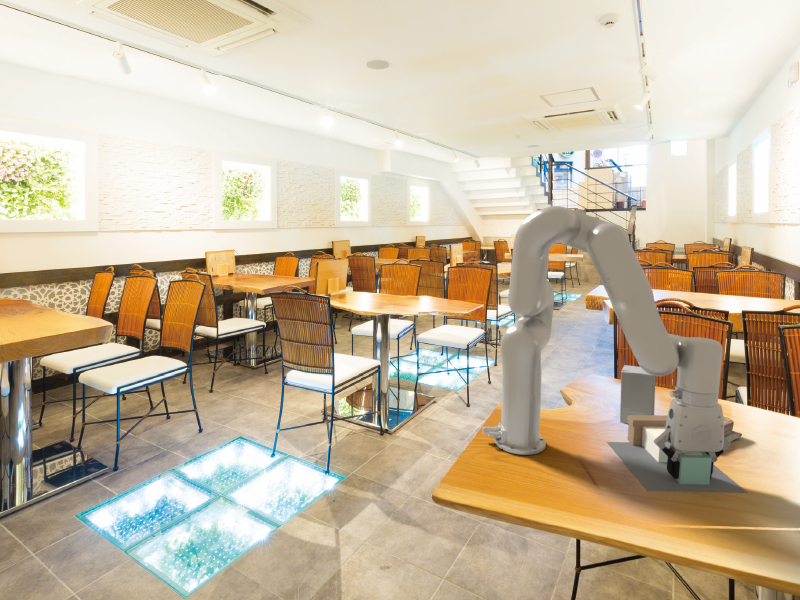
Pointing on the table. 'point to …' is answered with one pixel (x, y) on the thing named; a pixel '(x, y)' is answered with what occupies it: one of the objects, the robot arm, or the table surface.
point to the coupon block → (647, 433)
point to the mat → (658, 477)
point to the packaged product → (730, 430)
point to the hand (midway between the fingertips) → (689, 475)
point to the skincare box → (636, 392)
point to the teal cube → (694, 468)
